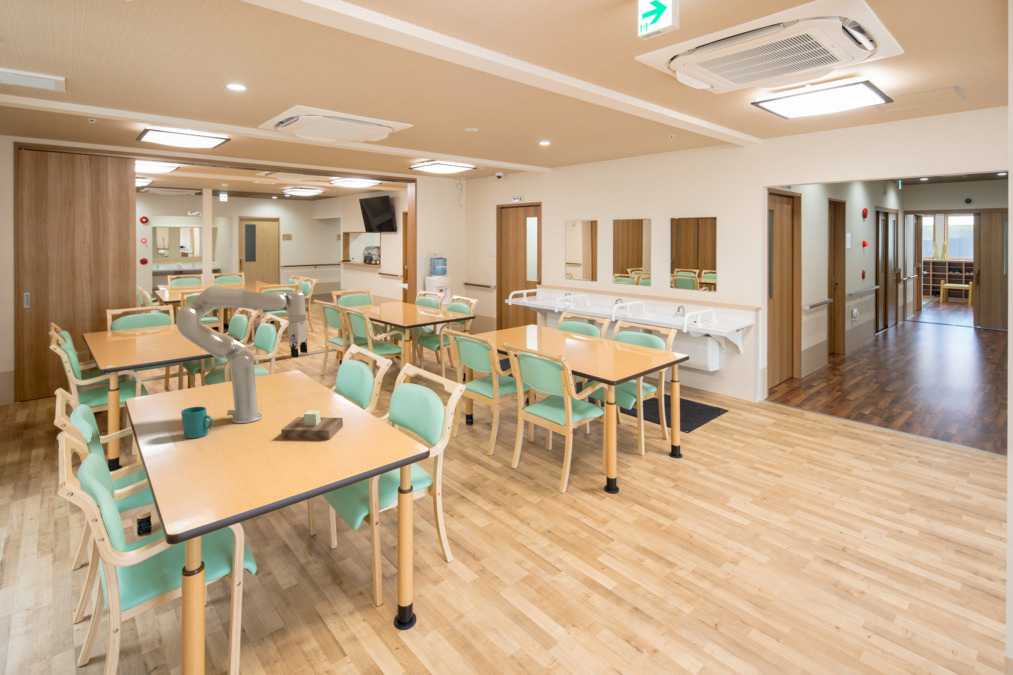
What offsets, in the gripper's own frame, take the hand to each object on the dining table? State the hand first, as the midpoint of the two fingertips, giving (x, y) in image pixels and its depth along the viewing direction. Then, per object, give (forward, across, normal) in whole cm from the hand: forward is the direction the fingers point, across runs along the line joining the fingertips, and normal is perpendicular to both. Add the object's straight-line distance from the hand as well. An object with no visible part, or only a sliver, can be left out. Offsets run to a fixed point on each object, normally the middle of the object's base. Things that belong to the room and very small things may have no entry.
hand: (299, 354), depth 248 cm
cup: (+28, +31, -31) cm, 52 cm away
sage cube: (+24, +25, +15) cm, 38 cm away
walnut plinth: (+28, +25, +15) cm, 41 cm away
